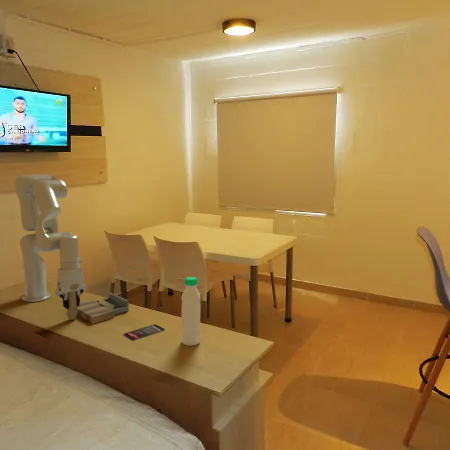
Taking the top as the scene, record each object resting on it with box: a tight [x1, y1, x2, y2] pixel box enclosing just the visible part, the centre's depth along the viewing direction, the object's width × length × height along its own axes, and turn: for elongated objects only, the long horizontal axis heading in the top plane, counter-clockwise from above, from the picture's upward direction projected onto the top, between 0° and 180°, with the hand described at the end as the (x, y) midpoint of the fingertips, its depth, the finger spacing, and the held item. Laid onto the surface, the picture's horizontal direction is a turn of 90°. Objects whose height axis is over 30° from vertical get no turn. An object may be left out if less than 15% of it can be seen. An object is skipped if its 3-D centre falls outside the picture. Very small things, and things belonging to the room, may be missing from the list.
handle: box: [66, 284, 79, 321], centre depth 173 cm, size 5×6×15 cm
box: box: [94, 292, 129, 317], centre depth 187 cm, size 16×8×5 cm, turn 46°
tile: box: [98, 298, 114, 309], centre depth 186 cm, size 5×5×2 cm
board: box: [76, 299, 115, 325], centre depth 181 cm, size 20×10×3 cm, turn 46°
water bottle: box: [181, 276, 201, 347], centre depth 153 cm, size 7×7×25 cm
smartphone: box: [123, 323, 165, 342], centre depth 163 cm, size 7×1×15 cm
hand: (71, 306), depth 174 cm, fingers closed on handle, 4 cm apart
